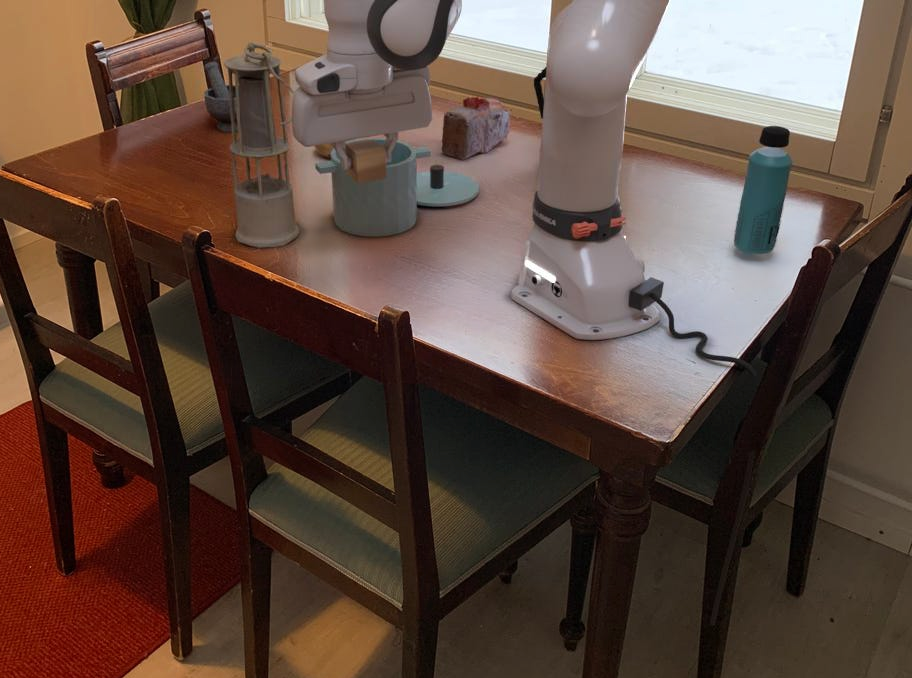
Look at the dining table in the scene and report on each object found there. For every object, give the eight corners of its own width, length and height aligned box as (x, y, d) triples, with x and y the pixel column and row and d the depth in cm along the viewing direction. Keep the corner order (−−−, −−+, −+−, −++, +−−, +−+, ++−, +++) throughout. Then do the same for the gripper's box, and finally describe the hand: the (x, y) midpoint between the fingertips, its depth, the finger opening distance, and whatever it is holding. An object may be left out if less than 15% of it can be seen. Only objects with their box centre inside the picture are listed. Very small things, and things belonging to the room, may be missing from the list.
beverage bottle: (766, 267, 153) (794, 139, 142) (724, 257, 156) (747, 131, 145) (778, 251, 158) (806, 126, 147) (737, 241, 161) (761, 118, 149)
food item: (479, 134, 201) (480, 85, 195) (512, 143, 197) (514, 93, 191) (437, 153, 192) (437, 102, 187) (470, 163, 188) (472, 111, 183)
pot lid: (493, 201, 174) (494, 175, 171) (416, 215, 169) (416, 189, 166) (455, 172, 185) (456, 147, 182) (382, 184, 179) (381, 159, 177)
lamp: (273, 215, 168) (257, 29, 151) (323, 239, 161) (311, 47, 144) (222, 233, 162) (198, 42, 145) (271, 259, 155) (252, 61, 138)
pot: (444, 225, 165) (445, 158, 159) (335, 245, 159) (331, 176, 152) (411, 195, 176) (411, 131, 169) (308, 213, 169) (303, 147, 162)
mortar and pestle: (265, 126, 204) (259, 66, 197) (227, 137, 199) (220, 76, 192) (232, 113, 211) (225, 55, 204) (194, 124, 205) (186, 64, 198)
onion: (339, 165, 187) (337, 127, 183) (305, 156, 191) (302, 119, 187) (363, 152, 193) (362, 115, 189) (330, 144, 196) (328, 108, 192)
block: (386, 178, 146) (385, 148, 143) (357, 184, 144) (356, 153, 142) (375, 168, 149) (373, 138, 146) (346, 173, 147) (344, 143, 145)
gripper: (420, 53, 143) (422, 147, 151) (283, 72, 137) (292, 169, 145) (439, 64, 139) (440, 160, 147) (297, 84, 132) (306, 184, 140)
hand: (365, 165), depth 146 cm, fingers closed on block, 4 cm apart
